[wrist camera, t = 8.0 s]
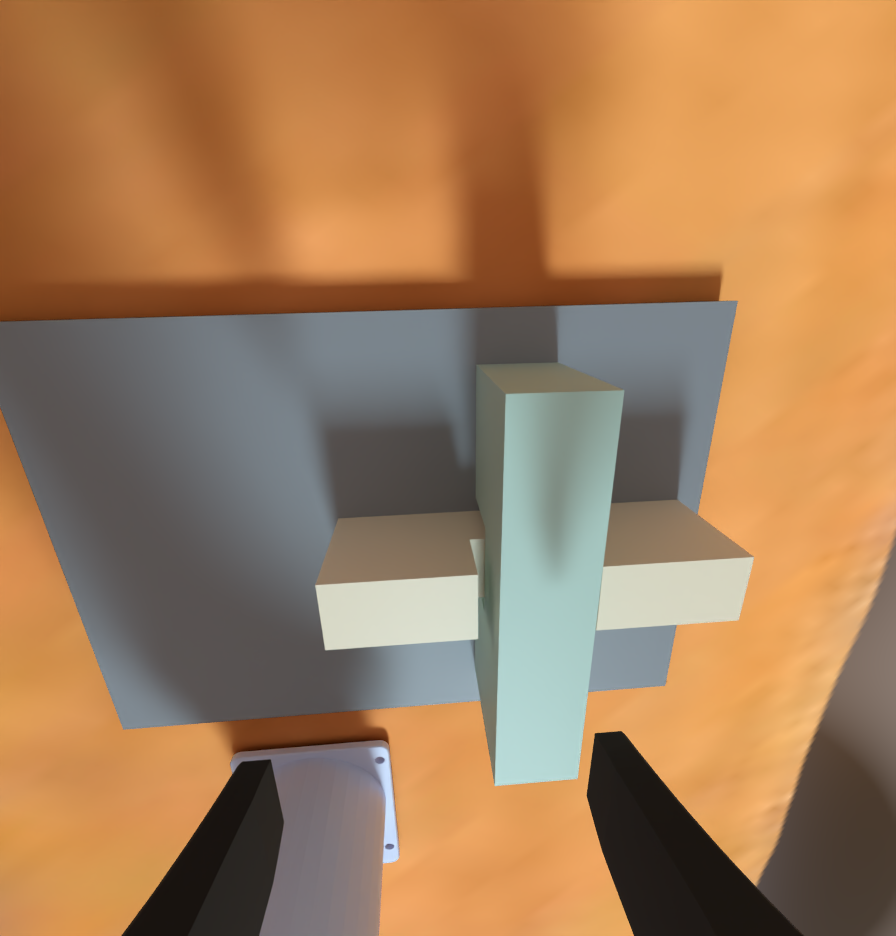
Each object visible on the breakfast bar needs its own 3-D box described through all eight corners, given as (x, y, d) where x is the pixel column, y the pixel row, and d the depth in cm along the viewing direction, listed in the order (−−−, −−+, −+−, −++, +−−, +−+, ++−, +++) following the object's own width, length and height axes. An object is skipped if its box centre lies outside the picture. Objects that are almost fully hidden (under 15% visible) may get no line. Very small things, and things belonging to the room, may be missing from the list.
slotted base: (654, 670, 23) (723, 774, 18) (135, 711, 22) (49, 838, 17) (719, 301, 17) (852, 300, 12) (-5, 321, 15) (-215, 331, 10)
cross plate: (537, 663, 21) (577, 778, 16) (474, 667, 21) (494, 786, 16) (557, 362, 16) (624, 390, 11) (476, 364, 16) (505, 393, 11)
